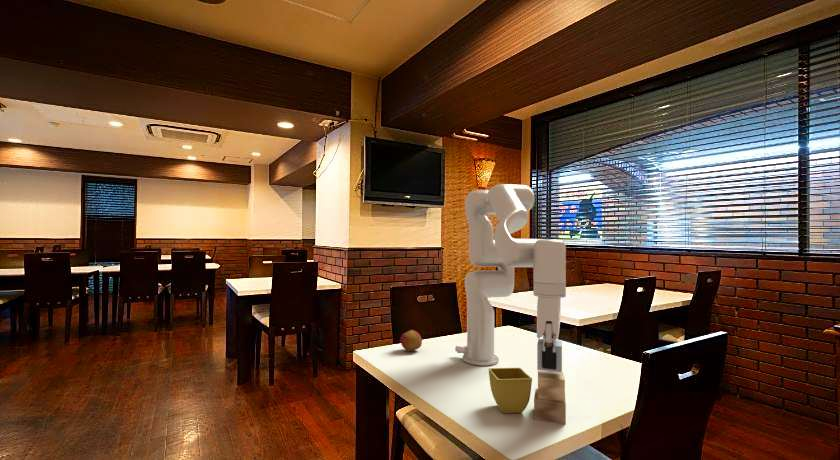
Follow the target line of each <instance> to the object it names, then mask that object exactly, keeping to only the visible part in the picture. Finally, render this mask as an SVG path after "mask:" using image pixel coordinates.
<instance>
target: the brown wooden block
mask: <svg viewBox="0 0 840 460" xmlns="http://www.w3.org/2000/svg"><path fill="white" fill-rule="evenodd" d="M566 405H567V403H566V399H565V402H561V401H553V400H545V399H538V387H537V388H536V387H535V391H534V397H533V420H534V421H535V420H536V421H541V422H548V423H555V424H560V425H561V424H562V425H566V423H567V421H566V418H567V417H566V414H567V412H566V410H567V407H566Z"/></svg>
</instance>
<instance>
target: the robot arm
mask: <svg viewBox="0 0 840 460" xmlns="http://www.w3.org/2000/svg"><path fill="white" fill-rule="evenodd" d="M535 200H536V199H535V194H534V191H533V190H532V188H531V187H529V186H528V185H525V184H515V183H513V184H512V183H508V184H507V183H498V184H495V185H493V186H492V187H491V188H489V189H478V190H472V191H470V192H469V193H468V194H467V195H466V197H465V201H464V211H465V217H466V220H467V223H468V231H469V232H468V255H469V256H468V257H469V259H468V260H469V261H470V263H471V264H472V265H473V266H475V267H484V268H488V267H491V268H493V267H496V268H497V270H492V269H491V270H490V269H487V270H483V269H482V270H472V271H470V272H468V273H467V274H466V275H465V278H464V289H465V295H466V345H465V346H459V345H455V350H454V351H455V352H456V353H458V354H463V355H462V361H463V362H465V363H466V364H468V365H469V364H470V365H473V366H481V367H482V366H483V367H485V366H486V367H487V366H493V365H496V364H498V363H499V357H498V356H497V355H495V309H494V307H493V305H492V304H491V302H490V301H489V298H505V297H509V296H511V295H512V294H513V292H514V289H515V268H533V269H532V270H533V271H532V272H533V274H532V275H533V296H535V297H537V301H536V302H537V303H536V305H537V306H536V338H537V339H541V338H542V339H543V351H542V368H544V369H553V370H556V352H555V340H558V339H559V334H560V328H561V327H560V325H561V298H562V299H563V298H566V297H567V294H566V293H567V292H566V290H567V285H566V284H567V279H566V277H567V275H566V274H567V273H566V272H567V270H566V268H567V266H566V265H567V259H566V258H567V257H566V256H567V254H566V253H567V247H566V244H565V242H564V240H561V239H548V238H523V237H522V238H513V237H512V236H511V235H512V234H514V233H516V232H518V231H520V230H521V229H523V228H524V227H525V226H526V225H527V223H528V220H529V213H528V212H529V211H530V210H532V209H533V207H534V205H535ZM487 215H488V216H495V218H496V219H497V221H498V223H497V225H496V228H495V229H494V225H493V224H492V222H491V220H490V219H489V218H488V216H487ZM494 230H495V231H494ZM545 341H546V342H545ZM552 341H553V343H552Z"/></svg>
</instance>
